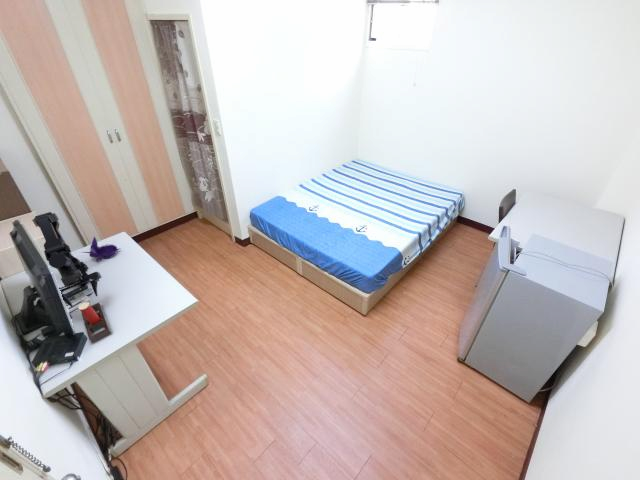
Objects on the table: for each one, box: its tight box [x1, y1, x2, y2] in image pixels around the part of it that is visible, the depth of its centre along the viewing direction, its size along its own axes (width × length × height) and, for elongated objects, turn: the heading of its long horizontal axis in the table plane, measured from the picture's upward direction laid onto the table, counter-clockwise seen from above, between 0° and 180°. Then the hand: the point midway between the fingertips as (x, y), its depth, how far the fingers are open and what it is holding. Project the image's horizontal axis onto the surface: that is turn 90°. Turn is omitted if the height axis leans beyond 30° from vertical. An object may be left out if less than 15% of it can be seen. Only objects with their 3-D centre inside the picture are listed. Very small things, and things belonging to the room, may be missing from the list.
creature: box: [81, 236, 120, 262], centre depth 159 cm, size 9×18×12 cm, turn 123°
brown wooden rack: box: [80, 302, 112, 344], centre depth 128 cm, size 19×7×3 cm, turn 42°
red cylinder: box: [77, 301, 102, 325], centre depth 125 cm, size 4×4×12 cm
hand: (84, 301), depth 127 cm, fingers open, 9 cm apart
